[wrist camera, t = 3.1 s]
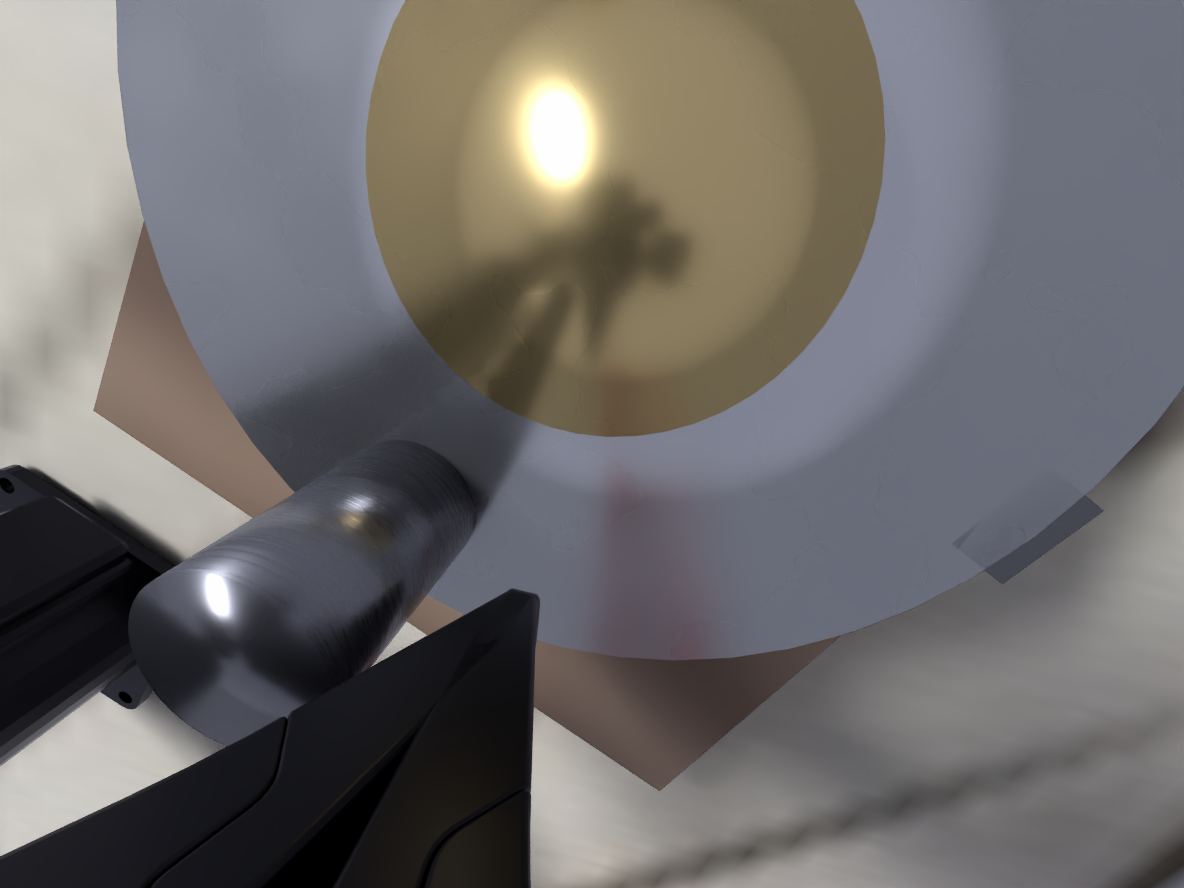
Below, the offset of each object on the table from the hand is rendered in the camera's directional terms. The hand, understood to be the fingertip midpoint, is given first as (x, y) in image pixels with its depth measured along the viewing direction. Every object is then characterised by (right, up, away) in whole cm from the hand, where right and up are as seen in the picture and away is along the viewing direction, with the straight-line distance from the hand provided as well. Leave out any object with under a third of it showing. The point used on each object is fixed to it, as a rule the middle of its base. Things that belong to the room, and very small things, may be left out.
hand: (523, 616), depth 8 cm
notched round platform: (+2, +7, +2) cm, 7 cm away
